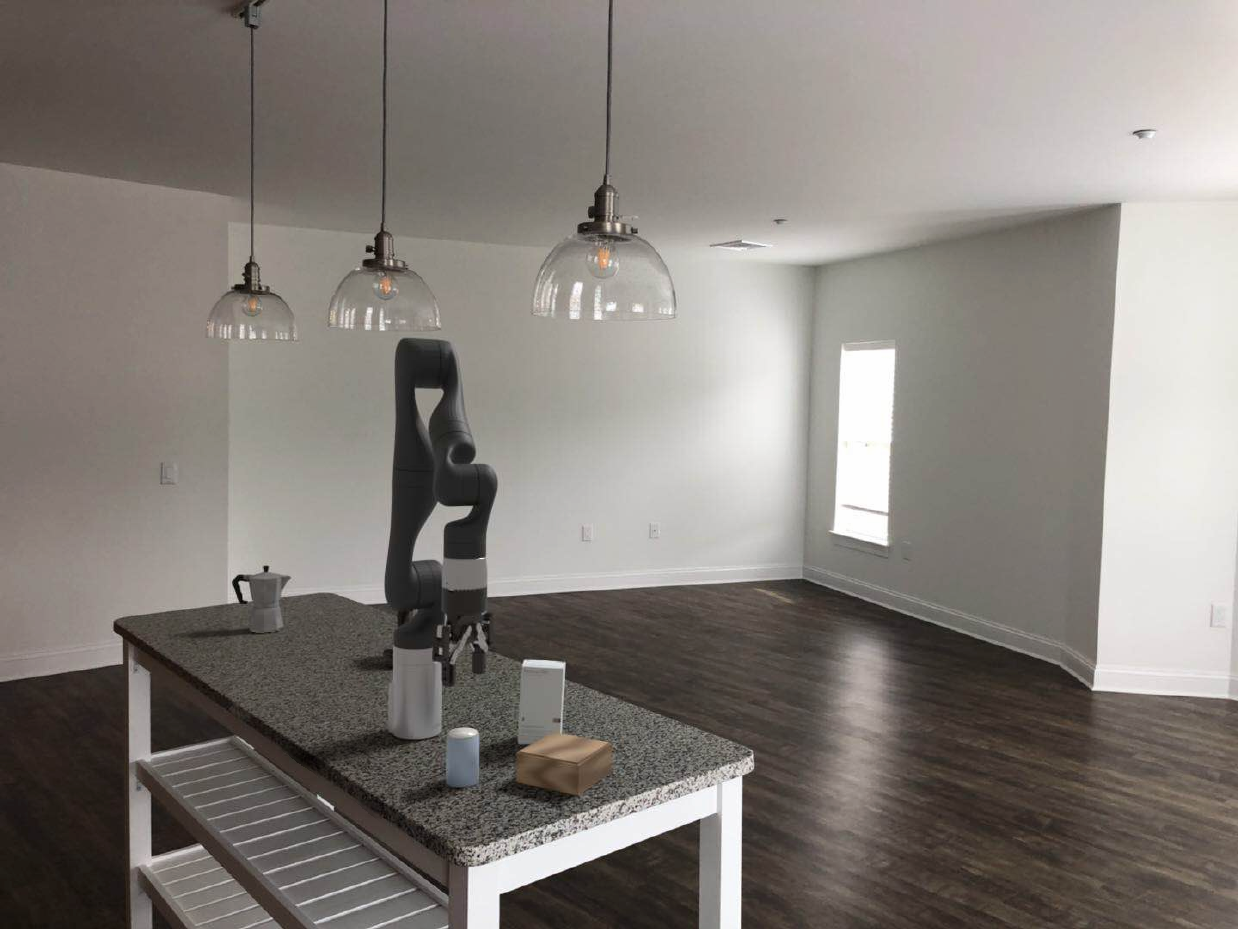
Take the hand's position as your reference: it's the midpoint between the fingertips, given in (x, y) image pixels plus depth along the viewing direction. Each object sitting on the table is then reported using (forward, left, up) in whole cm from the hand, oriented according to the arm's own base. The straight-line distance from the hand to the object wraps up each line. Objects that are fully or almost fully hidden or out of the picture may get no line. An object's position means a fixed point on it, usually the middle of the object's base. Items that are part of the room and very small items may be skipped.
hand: (463, 679), depth 164 cm
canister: (0, 0, -17) cm, 17 cm away
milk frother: (-55, +58, -18) cm, 82 cm away
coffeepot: (-112, +63, -18) cm, 130 cm away
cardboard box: (+14, +10, -17) cm, 24 cm away
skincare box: (+1, +24, -18) cm, 30 cm away
